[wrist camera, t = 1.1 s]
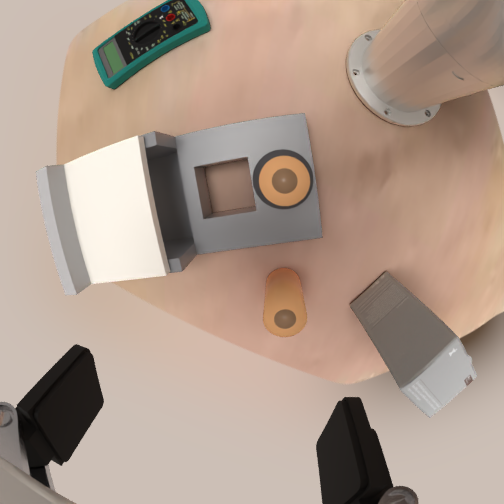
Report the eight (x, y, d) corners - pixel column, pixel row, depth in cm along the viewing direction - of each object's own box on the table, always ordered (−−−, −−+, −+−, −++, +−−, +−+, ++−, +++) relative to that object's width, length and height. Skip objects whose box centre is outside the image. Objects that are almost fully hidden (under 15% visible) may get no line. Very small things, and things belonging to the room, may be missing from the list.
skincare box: (347, 303, 32) (388, 394, 17) (390, 264, 30) (460, 334, 15) (382, 340, 34) (424, 425, 18) (421, 305, 32) (481, 378, 17)
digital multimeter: (216, 29, 24) (211, 18, 22) (114, 92, 27) (101, 87, 24) (194, -3, 23) (188, -15, 20) (99, 56, 26) (87, 50, 23)
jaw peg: (298, 265, 31) (305, 297, 24) (301, 297, 32) (308, 334, 25) (263, 270, 32) (259, 302, 24) (268, 301, 33) (266, 339, 25)
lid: (143, 136, 20) (122, 132, 16) (170, 271, 23) (154, 287, 20) (59, 169, 21) (35, 171, 18) (85, 281, 24) (65, 295, 21)
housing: (300, 120, 27) (311, 101, 18) (316, 228, 30) (332, 252, 22) (106, 164, 30) (60, 166, 21) (126, 256, 33) (87, 282, 24)
